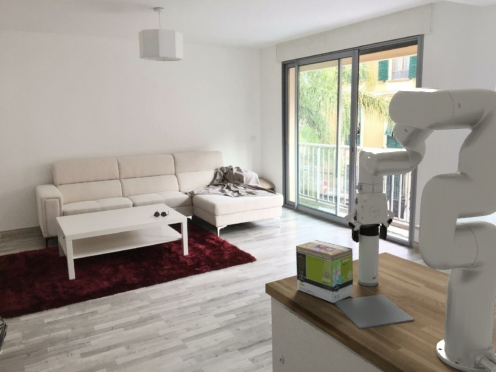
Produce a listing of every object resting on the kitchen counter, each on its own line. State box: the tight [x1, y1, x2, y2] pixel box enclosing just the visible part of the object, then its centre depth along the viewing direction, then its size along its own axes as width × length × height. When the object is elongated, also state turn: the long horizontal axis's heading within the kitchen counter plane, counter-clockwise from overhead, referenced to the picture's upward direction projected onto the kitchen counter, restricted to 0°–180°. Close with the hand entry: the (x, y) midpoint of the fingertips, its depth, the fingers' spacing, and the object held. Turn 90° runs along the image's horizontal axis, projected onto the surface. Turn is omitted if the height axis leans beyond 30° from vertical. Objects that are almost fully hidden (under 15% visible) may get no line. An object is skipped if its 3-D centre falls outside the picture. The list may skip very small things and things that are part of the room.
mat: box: [333, 294, 415, 330], centre depth 117 cm, size 16×16×1 cm
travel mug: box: [357, 224, 381, 287], centre depth 135 cm, size 6×7×20 cm
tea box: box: [295, 239, 354, 304], centre depth 128 cm, size 15×10×15 cm, turn 38°
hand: (369, 240), depth 134 cm, fingers open, 9 cm apart
